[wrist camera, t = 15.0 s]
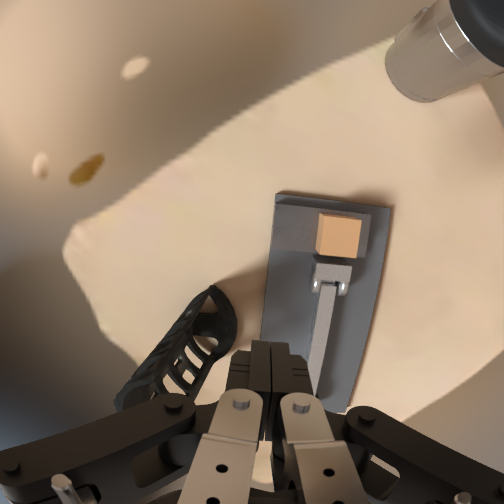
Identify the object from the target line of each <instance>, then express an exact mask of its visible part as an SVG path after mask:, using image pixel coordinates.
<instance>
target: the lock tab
mask: <svg viewBox="0 0 504 504" xmlns="http://www.w3.org/2000/svg"><path fill="white" fill-rule="evenodd" d="M361 222H362V220H359V219H357V218H355V217H348V216H340V215H332V214H323V213H319V222H318V230H317V238H316V246H315V249H316V250H317V252H318V253H319V255H329V256H339V257H349V258H356V256H357V250H358V243H359V236H360V229H361Z"/></svg>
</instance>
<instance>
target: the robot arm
mask: <svg viewBox="0 0 504 504" xmlns="http://www.w3.org/2000/svg"><path fill="white" fill-rule="evenodd" d="M385 65H386V70H387V73H388V75H389V78H390V80H391V81H392V83H393V84H394V86H395V87H396V88H397V89H398V90H399V91H400V92H401V93H402V94H403V95H405V96H406V97H408V98H410V99H411V100H414V101H417V102H422V103H429V102H432V101H435V100H438V99H440V98H442V97H445V96H447V95H450V94H452V93H454V92H457V91H459V90H462V89H464V88H466V87H469V86H471V85H474V84H476V83H479V82H481V81H484V80H486V79H489V78H491V77H494V76H496V75H499V74H502V73H504V0H437V1H436V2H435V3H434V4H433V5H432V6H431V7H430V8H427V7H425V8H422V9H421V10H420V11H419V12H418V14H416V16H414V17H413V19H412V20H411V21H410V22H409V23H408V24H407V25H406V26H405V27H404V28H403V29H402V30H401V31H400V32H399V33H398V34H397V35H396V36H395V43H394V44H393V45H392V46H391V47H390V48H389V50H388V51H387V54H386V58H385ZM264 432H265V441H272V450H271V455H270V461H271V469H272V478H273V486H274V492H267V491H263V490H259V489H255V488H251V487H250V486H251V480H252V473H253V467H254V461H255V454H256V452H257V451H258V447H259V440H260V441H263V438H264ZM372 455H375V456H376V457H378V458H379V459H381V460H383V461H384V462H386V463H388V464H389V465H391V466H392V467H394V468H396V469H397V470H398V472H399V474H400V478H399V477H397V476H395V475H393V474H392V473H390V472H389V471H387V470H385V469H383V468H382V467H381V466H379V465H377V464H376V463H374V462H373V461H371V460H370V459H371V457H372ZM187 473H188V476H187V479H186V481H185V484H184V487H183V489H182V490H177V491H173V492H170V493H167V494H165V495H163V496H160V497H158V498H157V499H155V500H153V501H151V502H150V503H148V504H504V474H503V473H501V472H499V471H497V470H494V469H492V468H490V467H487V466H486V465H483V464H481V463H479V462H477V461H475V460H473V459H471V458H469V457H467V456H464V455H462V454H460V453H458V452H456V451H454V450H452V449H450V448H448V447H446V446H444V445H442V444H440V443H438V442H437V441H435V440H433V439H431V438H429V437H427V436H425V435H423V434H421V433H419V432H417V431H416V430H414V429H412V428H410V427H408V426H406V425H405V424H403V423H401V422H399V421H397V420H395V419H394V418H392V417H390V416H388V415H387V414H385V413H383V412H381V411H379V410H378V409H376V408H373V407H369V406H357V407H354V408H352V409H350V410H349V411H348V412H347V414H346V415H342V414H337V413H332V412H329V411H327V410H325V409H323V406H322V403H321V402H320V400H319V399H317V398H316V397H314V393H313V388H312V384H311V379H310V374H309V371H308V365H307V362H306V361H305V359H304V358H303V357H302V356H301V355H292V354H290V350H289V343H286V342H272V341H271V342H269V341H260V340H252V344H251V351H241V350H238V351H237V352H235V353H234V354H233V355H232V357H231V362H230V367H229V373H228V378H227V383H226V389H225V392H224V393H223V394H222V395H221V397H220V399H219V401H217V402H215V403H212V404H207V405H195V403H194V401H193V400H192V399H191V398H189V397H188V396H186V395H183V394H179V393H166V394H162V395H160V396H157V397H155V398H153V399H150V400H148V401H145V402H143V403H140V404H138V405H136V406H133V407H131V408H128V409H125V410H123V411H120V412H118V413H115V414H113V415H110V416H108V417H105V418H102V419H99V420H97V421H94V422H91V423H88V424H85V425H83V426H80V427H77V428H74V429H71V430H68V431H65V432H62V433H59V434H56V435H53V436H50V437H47V438H43V439H40V440H37V441H34V442H30V443H27V444H23V445H20V446H16V447H12V448H9V449H6V450H2V451H0V488H1V489H2V491H3V494H4V495H5V497H6V498H7V499H8V501H9V502H10V503H11V504H131V503H133V502H136V501H137V500H140V499H141V498H143V497H145V496H147V495H149V494H151V493H153V492H155V491H157V490H159V489H161V488H162V487H164V486H166V485H168V484H170V483H171V482H173V481H175V480H177V479H178V478H180V477H182V476H184V475H185V474H187Z"/></svg>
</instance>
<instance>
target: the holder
mask: <svg viewBox="0 0 504 504" xmlns="http://www.w3.org/2000/svg"><path fill="white" fill-rule="evenodd" d="M208 295H210V297H211V298H212V300H213V301H214V303H215V304H216V306H217V307H218V312H217V313H215V314H209V313H198V312H199V311H200V309H201V307H202V305H203V304H204V302H205V300H206V298H207V297H208ZM236 334H237V319H236V316H235V312H234V309H233V307H232V305H231V303H230V301H229V299H228V298H227V297H226V296H225V294H224V293H223V292H222V291H221V290H220V289H218V288H217V287H216V286H215V285H211V286H210V287H209V288H208V289H207V290H205V291H203V292H202V293H200V294H199V295H197V296H196V297H195V298H194V299H193V300H192V301H191V302H190V303H189V305H188V306H187V308H186V309H185V311H184V312H183V313H182V314H181V315H180V317H179V318H178V319H177V321H176V322H175V323H174V324H173V326H172V327H171V329H170V330H169V331H168V332H167V334H166V335H165V336H164V338H163V339H162V340H161V341H160V342H159V343H158V345H157V346H156V348H155V349H154V350H153V351H152V352H151V353H150V354H149V356H148V357H147V358H146V359H145V361H144V362H143V363H142V364H141V365H140V366H139V368H138V369H137V370H136V371H135V372H134V374H133V375H132V377H131V378H132V379H130V380H129V381H128V382H127V383H126V384H125V386H124V387H123V389H122V390H121V391H120V392H119V393H117V395H116V398H115V399H114V406H115V408H116V413H118V412H120V411H123V410H125V409H128V408H131V407H133V406H136V405H138V404H140V403H143V402H145V401H148V400H150V398H151V396H152V394H153V392H154V391H155V395H154V397H153V398H155V397H157V396H160V395H162V394H166V393H169V392H168V391H167V389H166V387H165V386H164V384H163V378H164V377H165V375H166V374H168V375H169V376H170V378H171V379H172V380H173V381H174V382H175V383H176V384H177V385H178V386H179V387H180V388H181V389H182V390H183V391H184V392H185V394H186V396H188V397H189V398H191V399H192V400H193V401H194V400H195V399H196V397H197V395H198V393H199V391H200V389H201V387H202V385H203V383H204V381H205V379H206V377H207V375H208V373H209V371H210V369H211V367H212V365H213V364H214V363H215V362H216V361H217V360H219V359H220V358H222V357H223V356H224V355H226V354H227V352H228V351H229V350H230V349H231V347H232V345H233V343H234V341H235V338H236ZM193 335H199V336H206V337H212V338H215V339H217V341H218V346H217V347H216V348H215V349H214V350H213V352H212V353H211V354H210V355H208V354H206V353H205V352H204V351H202V350H201V349H200V347H199V346H198V345H197V344H196V342H195V340H194V338H193ZM186 345H187V346H188V347H189V349H190V350H191V351H192V352H193V353H194V354H195V355H196V356H197V357H198V358H199V359H200V360H201V361H202V362H203V364H202V366H201V368H200V369H199V368H198V367H196V366H195V365H194V364H193V363H192V362H191V361H190V360H189V358H188V357H187V355H186V353H185V351H184V349H185V347H186ZM177 358H178V362H177V363H176V365H175V366H174V362H175V361H176V359H177ZM186 369H187V370H188V371H189V372H191V373H192V375H193V376H194V377H195V379H194V381H193V383H192V384H189V383H188V382H187V381H185V380H184V379H183V377H182V375H183V373H184V372H185V370H186ZM153 398H152V399H153Z"/></svg>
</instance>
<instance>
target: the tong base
mask: <svg viewBox="0 0 504 504" xmlns="http://www.w3.org/2000/svg"><path fill="white" fill-rule="evenodd" d="M319 213H323V214H332V215H340V216H348V217H355V218H357V219H359V220H362V222H361V229H360V236H359V243H358V250H357V256H356V257H361V258H365V255H366V249H367V242H368V236H369V229H370V221H371V215H370V214H366V213H358V212H351V211H343V210H335V209H327V208H318V207H310V206H301V205H292V204H282V203H275V208H274V218H273V228H272V238H271V249H281V250H291V251H301V252H311V253H318V252H317V250H316V249H315V246H316V238H317V230H318V222H319ZM310 271H311V273H310V281H309V290H310V293H314V294H316V297H315V304H314V310H313V316H312V321H311V327H310V333H309V338H308V344H307V349H306V354H305V361H306V362H307V358H308V352H309V347H310V341H311V336H312V330H313V324H314V318H315V312H316V306H317V300H318V293H319V291H320V287H321V283H325V284H334V282H335V281H336V282H335V285H336V286H337V288H336V294H337V295H339V296H345V295H346V294H347V291H348V288H349V282H350V277H351V271H352V266H351V265H350V264H349V263H348V262H347V261H346V260H345V259H338V258H328V257H318V256H312V263H311V270H310ZM316 393H317V390H316Z"/></svg>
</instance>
